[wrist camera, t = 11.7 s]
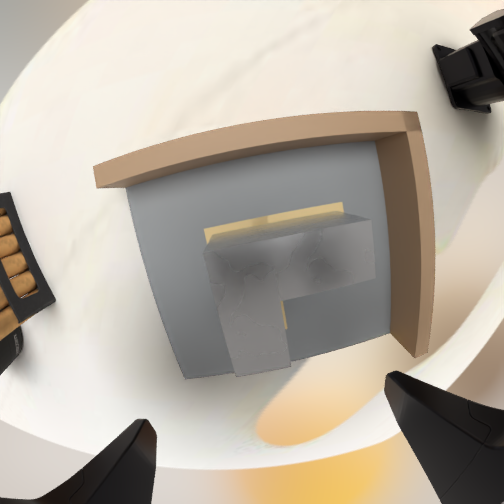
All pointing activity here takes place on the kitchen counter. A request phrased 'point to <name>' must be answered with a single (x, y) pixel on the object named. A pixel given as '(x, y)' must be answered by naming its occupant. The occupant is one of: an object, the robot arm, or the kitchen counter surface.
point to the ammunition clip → (18, 272)
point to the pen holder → (10, 348)
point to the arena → (283, 208)
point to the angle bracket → (281, 278)
